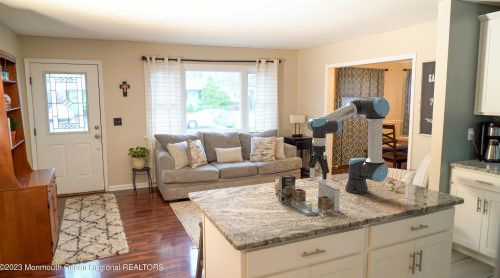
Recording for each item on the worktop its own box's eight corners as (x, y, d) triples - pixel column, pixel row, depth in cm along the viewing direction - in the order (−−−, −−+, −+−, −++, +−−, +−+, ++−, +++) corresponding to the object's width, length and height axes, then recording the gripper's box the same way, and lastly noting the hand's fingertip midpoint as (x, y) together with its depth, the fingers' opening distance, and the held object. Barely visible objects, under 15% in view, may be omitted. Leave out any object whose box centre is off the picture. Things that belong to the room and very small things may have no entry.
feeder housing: (322, 201, 208) (323, 180, 206) (338, 210, 191) (339, 188, 190) (317, 202, 207) (318, 181, 205) (334, 211, 190) (334, 189, 188)
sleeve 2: (326, 208, 195) (326, 195, 194) (331, 212, 189) (331, 198, 188) (317, 209, 193) (318, 196, 192) (322, 213, 188) (323, 199, 186)
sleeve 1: (300, 201, 203) (301, 188, 202) (305, 204, 198) (305, 191, 197) (292, 202, 202) (293, 189, 201) (296, 205, 196) (297, 191, 195)
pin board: (302, 203, 205) (302, 194, 204) (319, 214, 186) (319, 204, 185) (290, 204, 202) (290, 195, 201) (306, 215, 183) (306, 206, 183)
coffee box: (281, 203, 204) (282, 177, 202) (277, 200, 210) (278, 175, 208) (295, 201, 207) (295, 176, 205) (290, 198, 213) (291, 174, 211)
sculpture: (291, 190, 231) (291, 175, 229) (291, 196, 219) (291, 180, 218) (274, 190, 232) (274, 175, 231) (274, 195, 220) (274, 179, 219)
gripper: (303, 142, 199) (302, 176, 202) (324, 148, 176) (322, 187, 179) (314, 141, 202) (313, 176, 205) (336, 148, 178) (335, 186, 181)
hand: (317, 181), depth 192 cm, fingers open, 13 cm apart
